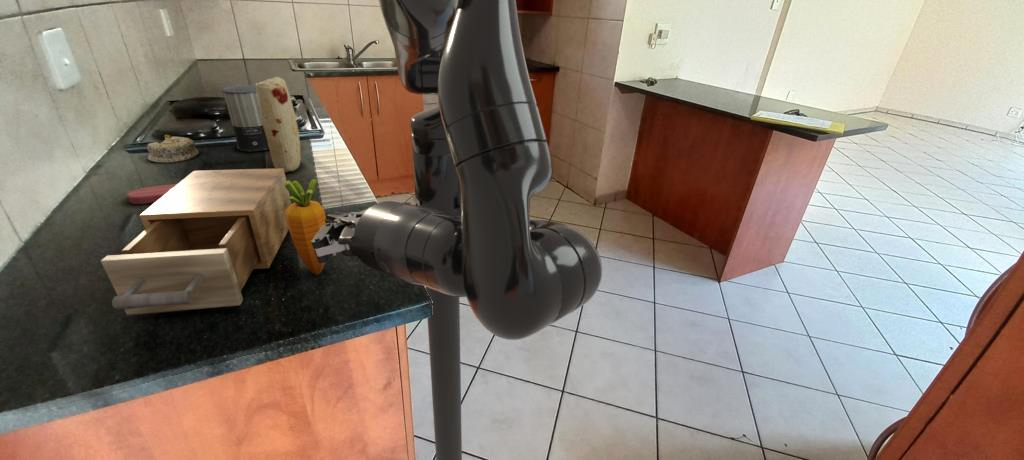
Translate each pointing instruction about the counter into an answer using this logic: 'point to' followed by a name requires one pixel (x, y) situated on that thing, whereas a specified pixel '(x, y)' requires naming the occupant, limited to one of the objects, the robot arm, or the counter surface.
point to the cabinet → (231, 203)
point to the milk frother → (246, 117)
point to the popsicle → (148, 194)
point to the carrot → (304, 223)
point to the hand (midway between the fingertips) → (333, 221)
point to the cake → (172, 149)
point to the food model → (279, 123)
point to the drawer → (184, 265)
